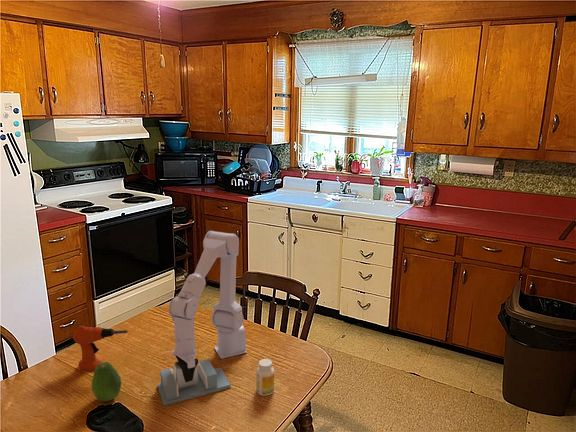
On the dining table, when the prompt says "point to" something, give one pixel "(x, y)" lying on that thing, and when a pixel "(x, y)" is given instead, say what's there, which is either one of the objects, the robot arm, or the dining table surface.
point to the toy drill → (91, 344)
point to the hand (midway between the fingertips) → (186, 376)
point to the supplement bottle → (265, 377)
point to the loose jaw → (207, 374)
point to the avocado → (105, 382)
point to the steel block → (180, 377)
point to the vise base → (174, 395)
